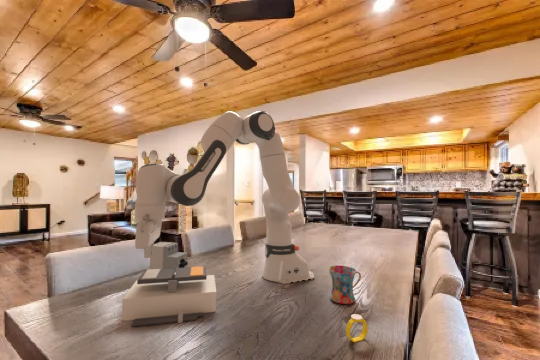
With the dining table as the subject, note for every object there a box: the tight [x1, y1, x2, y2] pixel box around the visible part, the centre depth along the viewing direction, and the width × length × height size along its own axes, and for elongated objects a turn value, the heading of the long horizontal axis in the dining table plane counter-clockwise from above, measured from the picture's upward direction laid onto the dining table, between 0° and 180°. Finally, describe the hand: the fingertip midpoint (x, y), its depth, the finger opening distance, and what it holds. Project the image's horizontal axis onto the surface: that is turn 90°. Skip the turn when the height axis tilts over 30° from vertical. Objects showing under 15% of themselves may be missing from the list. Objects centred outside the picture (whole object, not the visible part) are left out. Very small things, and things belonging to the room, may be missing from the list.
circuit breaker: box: [149, 241, 189, 269], centre depth 103 cm, size 8×14×15 cm, turn 78°
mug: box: [328, 264, 362, 305], centre depth 89 cm, size 12×9×11 cm
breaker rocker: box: [136, 265, 207, 284], centre depth 84 cm, size 20×10×2 cm, turn 104°
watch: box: [345, 313, 369, 344], centre depth 65 cm, size 6×3×6 cm, turn 114°
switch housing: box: [121, 274, 217, 322], centre depth 84 cm, size 26×16×10 cm, turn 104°
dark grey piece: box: [131, 311, 205, 328], centre depth 73 cm, size 19×3×2 cm, turn 104°
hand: (148, 256), depth 82 cm, fingers closed
